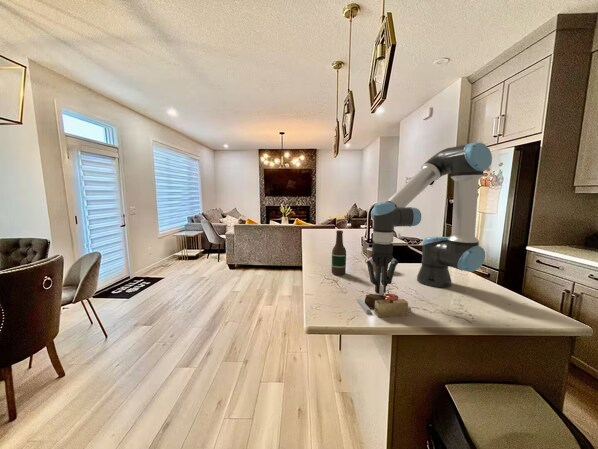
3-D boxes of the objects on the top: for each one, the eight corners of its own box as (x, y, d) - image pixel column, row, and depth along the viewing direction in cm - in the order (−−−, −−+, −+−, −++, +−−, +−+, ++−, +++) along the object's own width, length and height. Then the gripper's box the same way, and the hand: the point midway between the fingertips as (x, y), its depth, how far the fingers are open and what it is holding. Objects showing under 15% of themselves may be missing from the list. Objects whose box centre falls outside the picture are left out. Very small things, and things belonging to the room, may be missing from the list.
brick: (394, 308, 95) (395, 297, 94) (393, 313, 91) (394, 300, 91) (366, 303, 100) (366, 292, 99) (364, 307, 96) (364, 295, 96)
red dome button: (402, 311, 93) (403, 293, 92) (408, 316, 88) (409, 297, 88) (373, 312, 91) (374, 294, 91) (378, 318, 87) (379, 299, 86)
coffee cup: (368, 265, 155) (369, 246, 153) (385, 268, 149) (386, 248, 148) (363, 269, 146) (364, 249, 145) (381, 272, 141) (382, 251, 139)
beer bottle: (345, 276, 134) (346, 231, 131) (330, 275, 135) (331, 231, 132) (345, 271, 141) (347, 229, 139) (331, 271, 143) (332, 229, 140)
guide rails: (397, 300, 102) (397, 297, 102) (410, 311, 92) (411, 307, 92) (357, 302, 100) (357, 298, 100) (366, 313, 90) (366, 309, 90)
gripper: (394, 240, 101) (391, 296, 103) (362, 240, 99) (360, 297, 102) (403, 244, 93) (400, 304, 96) (370, 244, 92) (367, 305, 95)
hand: (379, 300), depth 99 cm, fingers closed
